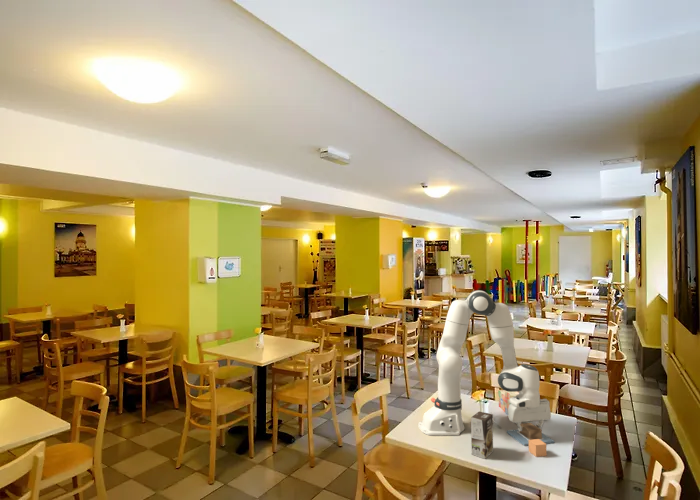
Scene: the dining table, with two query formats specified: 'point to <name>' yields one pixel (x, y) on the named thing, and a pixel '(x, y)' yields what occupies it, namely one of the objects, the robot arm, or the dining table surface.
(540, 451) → the terracotta cube
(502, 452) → the dining table surface
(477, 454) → the coffee box
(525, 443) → the slate-blue board
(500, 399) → the colourful patterned carton
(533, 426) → the walnut brick
